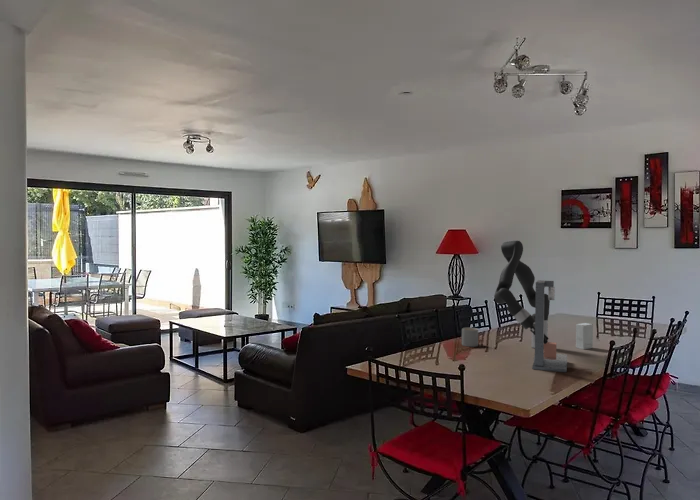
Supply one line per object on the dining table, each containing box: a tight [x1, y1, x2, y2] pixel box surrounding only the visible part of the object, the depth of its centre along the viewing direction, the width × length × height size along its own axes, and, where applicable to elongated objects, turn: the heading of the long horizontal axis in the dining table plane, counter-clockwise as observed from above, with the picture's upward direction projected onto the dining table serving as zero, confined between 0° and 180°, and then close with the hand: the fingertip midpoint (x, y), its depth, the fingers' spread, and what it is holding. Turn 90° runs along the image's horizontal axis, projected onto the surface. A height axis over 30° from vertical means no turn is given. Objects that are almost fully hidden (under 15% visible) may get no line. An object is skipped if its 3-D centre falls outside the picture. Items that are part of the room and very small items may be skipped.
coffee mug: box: [461, 327, 479, 348], centre depth 326 cm, size 13×10×10 cm
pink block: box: [544, 341, 557, 358], centre depth 275 cm, size 6×6×7 cm
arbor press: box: [531, 279, 568, 373], centre depth 272 cm, size 24×16×44 cm, turn 157°
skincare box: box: [575, 322, 594, 350], centre depth 316 cm, size 8×6×15 cm
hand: (547, 341), depth 276 cm, fingers open, 8 cm apart
